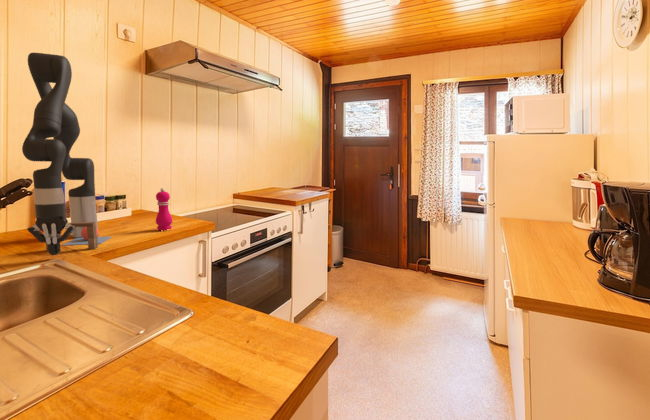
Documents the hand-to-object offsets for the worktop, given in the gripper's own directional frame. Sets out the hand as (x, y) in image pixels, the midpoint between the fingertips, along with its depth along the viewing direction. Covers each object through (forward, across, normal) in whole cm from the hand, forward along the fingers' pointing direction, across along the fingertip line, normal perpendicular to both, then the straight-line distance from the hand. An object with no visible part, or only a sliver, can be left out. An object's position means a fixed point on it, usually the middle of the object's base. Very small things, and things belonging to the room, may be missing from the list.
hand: (54, 254), depth 112 cm
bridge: (+2, 0, -13) cm, 13 cm away
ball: (-2, 0, -28) cm, 28 cm away
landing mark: (+2, 0, -27) cm, 27 cm away
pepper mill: (+2, -25, -46) cm, 52 cm away
